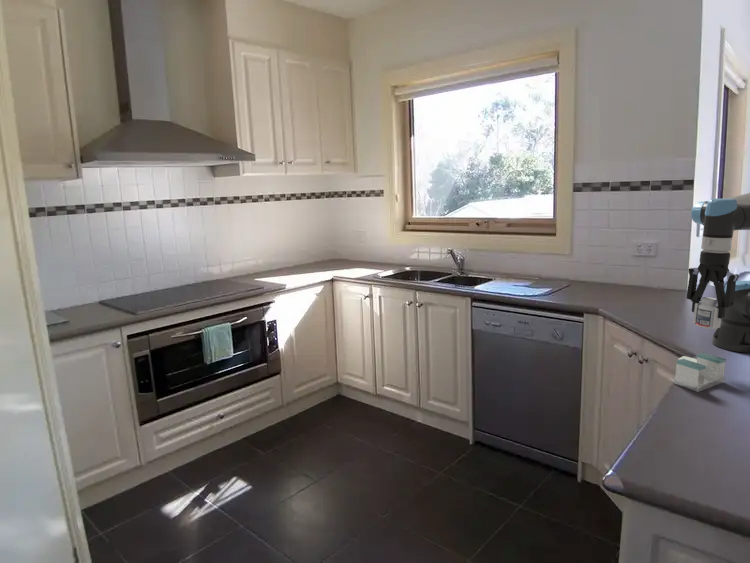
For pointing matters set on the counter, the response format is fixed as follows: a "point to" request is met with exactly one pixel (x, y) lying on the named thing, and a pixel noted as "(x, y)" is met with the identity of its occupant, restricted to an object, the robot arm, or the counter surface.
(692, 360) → the block
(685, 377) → the teal white block
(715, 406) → the counter surface
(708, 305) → the pill bottle
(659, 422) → the counter surface
